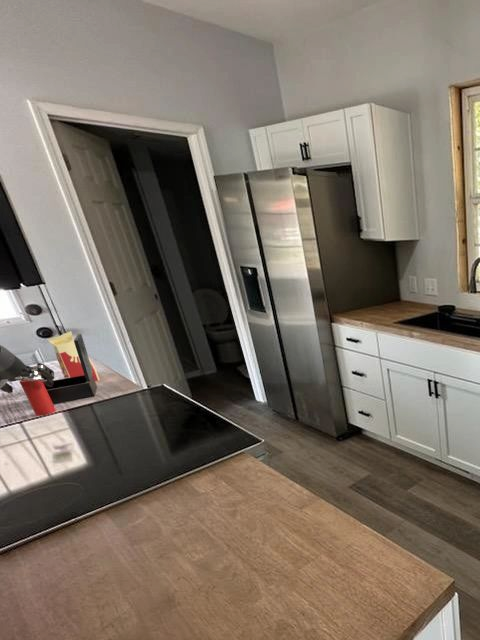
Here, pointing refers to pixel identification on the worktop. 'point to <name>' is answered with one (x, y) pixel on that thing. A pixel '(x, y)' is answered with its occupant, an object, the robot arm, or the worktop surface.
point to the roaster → (71, 389)
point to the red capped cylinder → (38, 397)
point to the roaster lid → (83, 357)
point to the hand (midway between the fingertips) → (31, 387)
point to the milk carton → (69, 356)
